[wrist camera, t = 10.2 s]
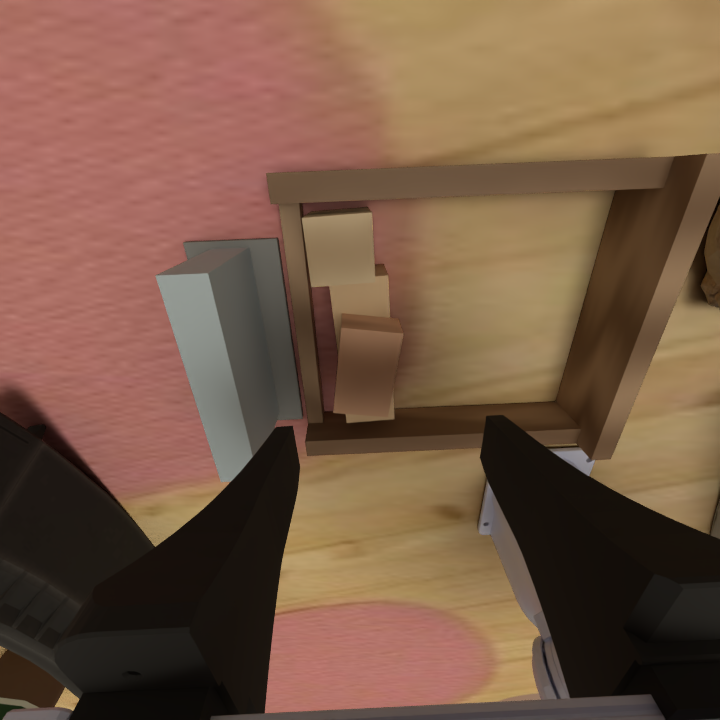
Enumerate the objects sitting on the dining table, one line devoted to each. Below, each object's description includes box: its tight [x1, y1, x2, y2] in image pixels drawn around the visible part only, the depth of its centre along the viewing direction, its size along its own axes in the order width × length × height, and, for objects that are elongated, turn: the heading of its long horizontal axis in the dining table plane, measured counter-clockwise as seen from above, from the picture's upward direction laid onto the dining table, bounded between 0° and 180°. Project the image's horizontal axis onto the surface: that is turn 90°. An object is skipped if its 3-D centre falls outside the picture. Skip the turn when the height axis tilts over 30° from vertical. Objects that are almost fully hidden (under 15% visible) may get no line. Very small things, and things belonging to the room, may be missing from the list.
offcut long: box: [329, 264, 395, 423], centre depth 20 cm, size 9×3×3 cm, turn 5°
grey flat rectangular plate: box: [183, 238, 303, 420], centre depth 21 cm, size 12×5×1 cm, turn 2°
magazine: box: [0, 412, 155, 699], centre depth 25 cm, size 17×3×30 cm
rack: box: [266, 153, 720, 460], centre depth 19 cm, size 16×19×4 cm
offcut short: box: [302, 207, 375, 287], centre depth 17 cm, size 3×3×4 cm
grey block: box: [156, 247, 279, 482], centre depth 18 cm, size 11×2×6 cm, turn 2°
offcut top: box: [333, 313, 404, 417], centre depth 18 cm, size 5×3×2 cm, turn 174°
